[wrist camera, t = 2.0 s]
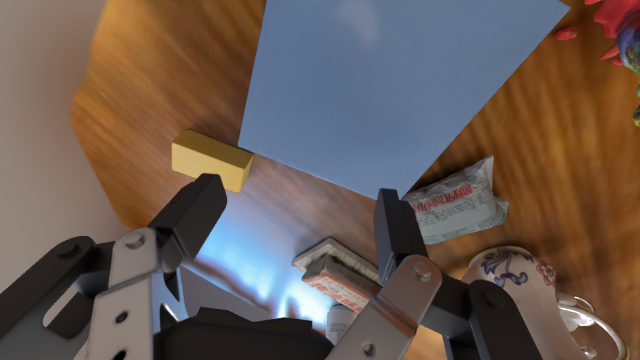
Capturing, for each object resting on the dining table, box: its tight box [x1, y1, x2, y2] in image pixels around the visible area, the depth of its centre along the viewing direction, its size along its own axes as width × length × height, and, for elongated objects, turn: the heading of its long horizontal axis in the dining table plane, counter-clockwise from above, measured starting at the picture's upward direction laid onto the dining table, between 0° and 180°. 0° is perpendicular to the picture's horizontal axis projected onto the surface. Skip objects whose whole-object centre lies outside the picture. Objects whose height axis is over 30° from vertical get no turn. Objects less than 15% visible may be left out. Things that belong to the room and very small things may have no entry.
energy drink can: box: [326, 305, 355, 345], centre depth 45 cm, size 6×6×15 cm
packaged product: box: [291, 238, 384, 314], centre depth 40 cm, size 18×5×10 cm
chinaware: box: [461, 245, 629, 360], centre depth 32 cm, size 28×17×17 cm, turn 98°
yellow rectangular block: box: [172, 129, 254, 193], centre depth 27 cm, size 8×4×3 cm, turn 68°
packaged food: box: [400, 155, 510, 245], centre depth 27 cm, size 9×12×5 cm
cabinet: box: [238, 0, 570, 200], centre depth 17 cm, size 15×14×9 cm
